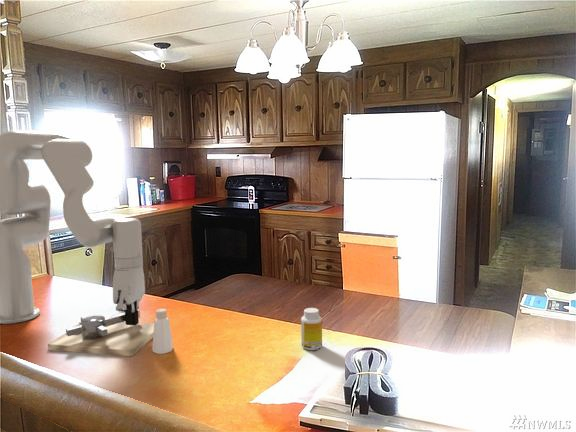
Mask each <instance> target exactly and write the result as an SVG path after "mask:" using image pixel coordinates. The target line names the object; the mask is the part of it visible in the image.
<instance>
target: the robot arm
mask: <svg viewBox="0 0 576 432" xmlns="http://www.w3.org/2000/svg"><path fill="white" fill-rule="evenodd" d="M25 160H43V161H44V162H45V164H46V166H47V168H48V169H49V171H50V173H51V174H52V176H53V177H54V179H55V181H56V182H57V185H58V186H59V187H60V189H61V190H62V192H63V195H64V197H63V202H62V204H63V205H62V209H63V210H62V211H63V219H64V221H65V224H66V225H67V228H68V229H69V231H70V232H71V234H72V235H73V237H74V239H75V240H76V241H77V242H78V243H79V244H81V245H82V246H83V247H87V248H93V247H97V246H101V245H103V244H104V245H105V244H109V243H112V242H113V258H114V270H113V277H112V302H113V304H114V305H117V304H118V303H119V310H118V311H123V313H124V312H125V321H124V322H126V325H134V326H135V325H137V324H138V323H140V322H139V318H138V310H140V302H141V300H142V299H143V297H144V296H145V294H146V284H145V283H146V281H145V279H146V278H145V273H144V259H143V257H144V255H143V240H142V239H143V235H142V234H143V233H142V223H141V220H140V219H138V218H135V217H119V216H116V215H106V216H101V217H96V218H95V217H94V218H91V217H90V216H89V215H88V213H87V210H86V209H85V207H84V204H83V203H84V202H83V197H84V195H85V194H87V193H88V192H89V191H90V190H91V189H92V188H93V187H94V179H93V178H92V176H91V175H90V173H89V171H88V170H87V168H86V167H88V166H90V164H91V163H92V160H93V152H92V149H91V147H90V146H89V145H88V143H86V142H85V141H83V140H82V139H78V138H74V137H72V136H67V135H63V134H61V133H56V132H53V131H40V130H39V131H38V130H25V129H24V130H23V129H20V130H18V129H14V130H8V131H5V132H2V133H1V134H0V214H1V215H6V216H16V217H8V218H3V219H0V324H1V325H8V324H9V325H10V324H19V323H23V322H26V321H30V320H32V319H35V318H37V317H38V316H39V315H40V314H41V311H40V310H41V309H40V308H38V307H36V306H35V303H34V291H33V289H34V288H33V280H32V278H33V277H32V269H31V260H30V258H29V256H28V254H27V253H26V252H25V250H24V249H23V248H25V247H28V246H31V245H37V244H40V243H42V242H43V241H45V240H46V239H47V237H48V234H49V230H50V218H51V202H52V201H51V195H50V192H49V190H48V188H46V186H45V185H43V184H42V183H39V182H30V170H29V167H28V165H27V163H26V161H25ZM17 215H22V216H17ZM23 215H24V216H23Z"/></svg>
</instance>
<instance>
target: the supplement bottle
mask: <svg viewBox="0 0 576 432" xmlns="http://www.w3.org/2000/svg"><path fill="white" fill-rule="evenodd" d="M319 311H320V310H319V309H318V308H316V307H308V308H305V309H304V310H303V316H301V318H300V327H301V328H300V330H301V335H300V336H301V347H302V349H304V350H307V351H317V350H320V349H321V348H322V347H323V317H321V315H320V312H319ZM319 348H320V349H319ZM316 349H317V350H316Z"/></svg>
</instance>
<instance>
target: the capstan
mask: <svg viewBox="0 0 576 432" xmlns="http://www.w3.org/2000/svg"><path fill="white" fill-rule="evenodd" d="M139 318H141V311H140V309H138V319H139ZM80 322H81V324H82V325H80V326H76V325H75V326H76V327H74V326H72V327H68V328H65V333H66V335H67V336H72V335H75V334H79V333H82V337H83V338H84V339H96V338H100V337H102V336H104V335H108V333H107V328H106V327H107V326H110V325H114V324H117V323H121V322H126V321H125V312H124V311H123V312H122V313H118V314H117V313H116V314H113V315H110V316H107V317H106V316H104V315H91V316H87V315H83V316H80Z"/></svg>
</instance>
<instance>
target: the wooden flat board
mask: <svg viewBox="0 0 576 432" xmlns="http://www.w3.org/2000/svg"><path fill="white" fill-rule="evenodd" d="M80 325H82V324H81V321H80V322H79V323H77V324H76V325H74V326H73V327H76V326H80ZM106 328H107V333H108V335H104V336H102V337H100V338H96V339H84V338H83V337H82V333H79V334H75V335H72V336H67V335H66V332H65V333H63V334H62V335H60V336H59V337H57V338H55V339H53V340H52V341H50V342H49V343H47V350H48V351H55V352H56V351H59V352H69V353H70V352H71V353H72V352H73V353H85V354H96V355H97V354H98V355H110V356H122V357H123V356H124V357H133V356H135V355H136V354H137V353H138V352H139V351H140V350H141V349H143V348H144V347H145V346H146V345H147V344H148V343H149V342H151V341H152V340H153V333H154V322H153V323H151V322H150V323H149V322H139V323H138V324H137V325H135V326H134V325H126V321H124V322H121V323H117V324H114V325H110V326H107V327H106Z"/></svg>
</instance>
